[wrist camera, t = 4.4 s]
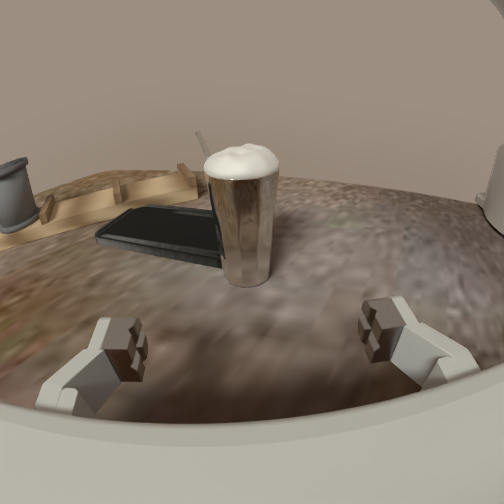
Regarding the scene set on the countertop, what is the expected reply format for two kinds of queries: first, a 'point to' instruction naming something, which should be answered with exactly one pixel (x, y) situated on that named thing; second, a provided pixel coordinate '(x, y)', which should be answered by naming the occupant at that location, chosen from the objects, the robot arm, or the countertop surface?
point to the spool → (16, 197)
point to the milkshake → (243, 209)
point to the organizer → (105, 205)
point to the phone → (165, 233)
